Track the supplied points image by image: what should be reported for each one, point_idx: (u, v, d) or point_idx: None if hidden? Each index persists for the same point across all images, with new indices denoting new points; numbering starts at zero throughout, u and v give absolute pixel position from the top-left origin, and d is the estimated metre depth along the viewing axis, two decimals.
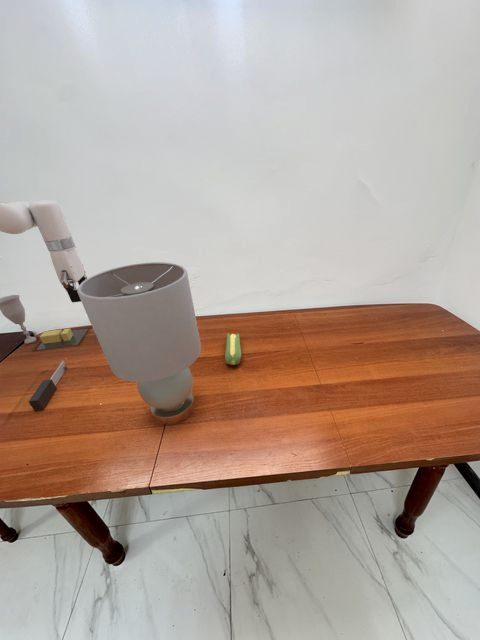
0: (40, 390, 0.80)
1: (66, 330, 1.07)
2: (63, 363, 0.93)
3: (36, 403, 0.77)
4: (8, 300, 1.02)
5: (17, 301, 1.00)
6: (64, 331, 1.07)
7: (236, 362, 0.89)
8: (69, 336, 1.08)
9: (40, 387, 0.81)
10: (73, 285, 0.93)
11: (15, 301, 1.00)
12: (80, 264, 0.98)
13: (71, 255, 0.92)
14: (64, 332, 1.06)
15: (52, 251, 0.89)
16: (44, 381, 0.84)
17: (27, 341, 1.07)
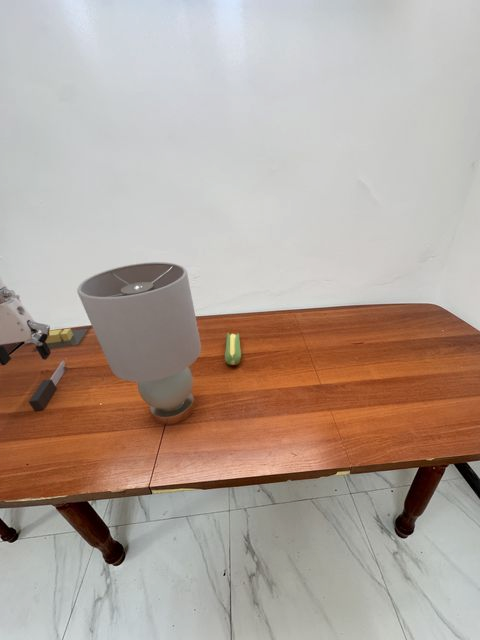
0: (40, 390, 0.80)
1: (66, 330, 1.07)
2: (63, 363, 0.93)
3: (36, 403, 0.77)
4: None
5: None
6: (64, 331, 1.07)
7: (236, 362, 0.89)
8: (69, 336, 1.08)
9: (40, 387, 0.81)
10: None
11: None
12: (13, 328, 0.69)
13: None
14: (64, 332, 1.06)
15: None
16: (44, 381, 0.84)
17: (27, 341, 1.07)
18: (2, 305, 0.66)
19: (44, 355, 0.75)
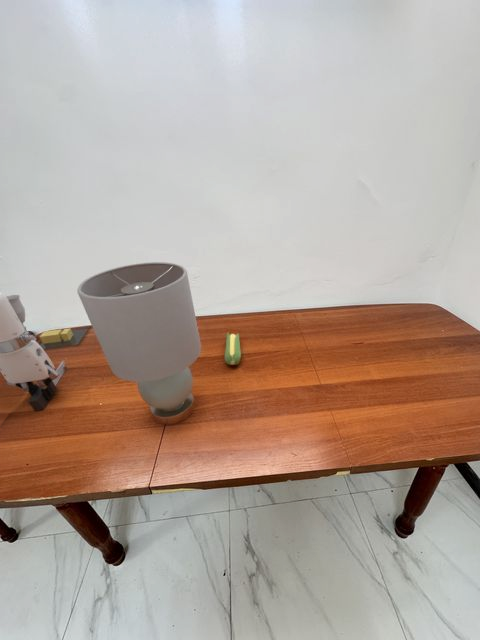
0: (40, 390, 0.80)
1: (66, 330, 1.07)
2: (63, 363, 0.93)
3: (36, 403, 0.77)
4: (8, 300, 1.02)
5: (17, 301, 1.00)
6: (64, 331, 1.07)
7: (235, 362, 0.89)
8: (69, 336, 1.08)
9: (40, 387, 0.81)
10: None
11: (15, 301, 1.00)
12: (32, 369, 0.74)
13: (5, 359, 0.72)
14: (64, 332, 1.06)
15: None
16: None
17: None
18: (22, 349, 0.71)
19: (48, 396, 0.81)
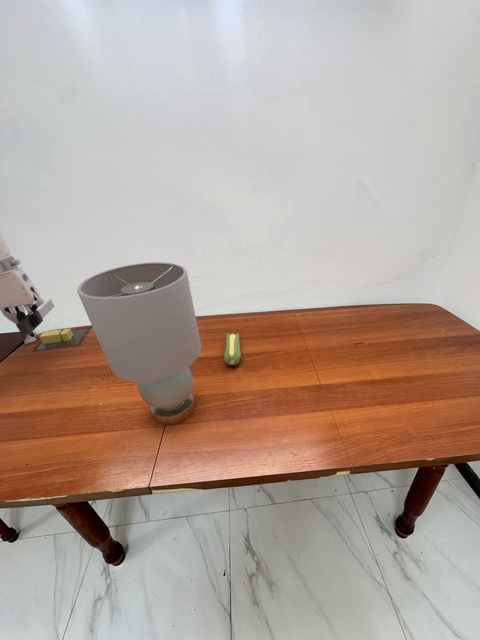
0: (27, 317, 0.88)
1: (66, 330, 1.07)
2: (50, 301, 1.01)
3: (23, 327, 0.85)
4: None
5: None
6: (64, 331, 1.07)
7: (235, 362, 0.89)
8: (69, 336, 1.08)
9: (27, 315, 0.89)
10: None
11: None
12: (18, 293, 0.82)
13: None
14: (64, 332, 1.06)
15: None
16: None
17: (27, 341, 1.07)
18: (9, 272, 0.79)
19: (34, 323, 0.89)
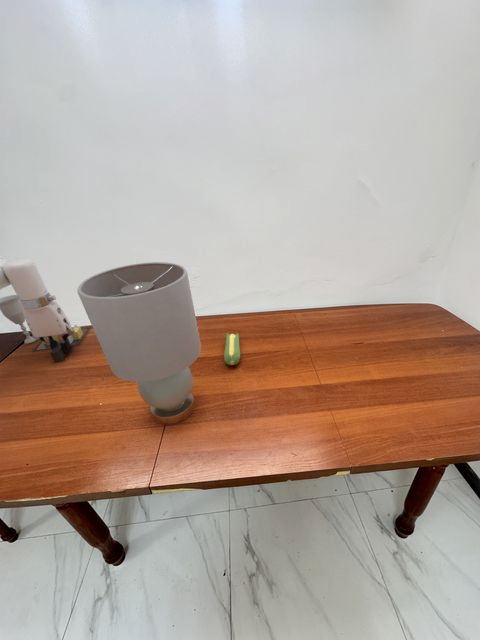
0: (59, 345, 0.97)
1: (76, 329, 1.08)
2: None
3: (56, 354, 0.94)
4: (8, 300, 1.02)
5: (17, 301, 1.00)
6: None
7: (235, 362, 0.89)
8: (79, 335, 1.08)
9: (58, 343, 0.98)
10: None
11: (15, 301, 1.00)
12: (53, 324, 0.91)
13: (32, 315, 0.89)
14: None
15: None
16: None
17: (27, 341, 1.07)
18: (46, 307, 0.88)
19: (65, 350, 0.98)
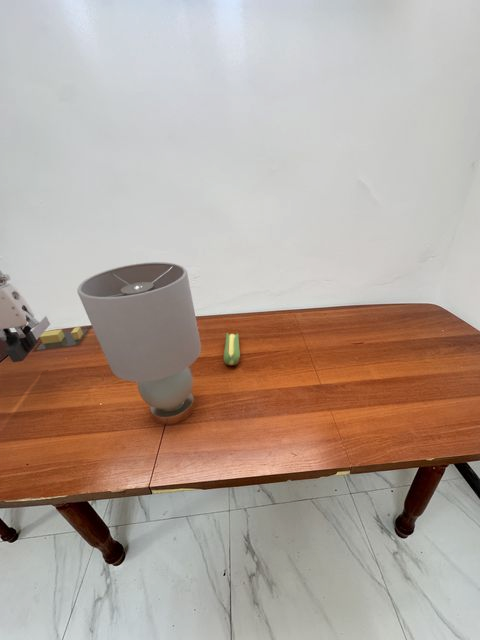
0: (19, 340, 0.75)
1: (76, 329, 1.08)
2: (45, 319, 0.88)
3: (14, 353, 0.72)
4: None
5: None
6: (74, 330, 1.07)
7: (234, 362, 0.89)
8: (79, 335, 1.08)
9: (19, 338, 0.76)
10: None
11: None
12: (8, 313, 0.69)
13: None
14: (74, 331, 1.07)
15: None
16: None
17: None
18: None
19: (27, 347, 0.76)
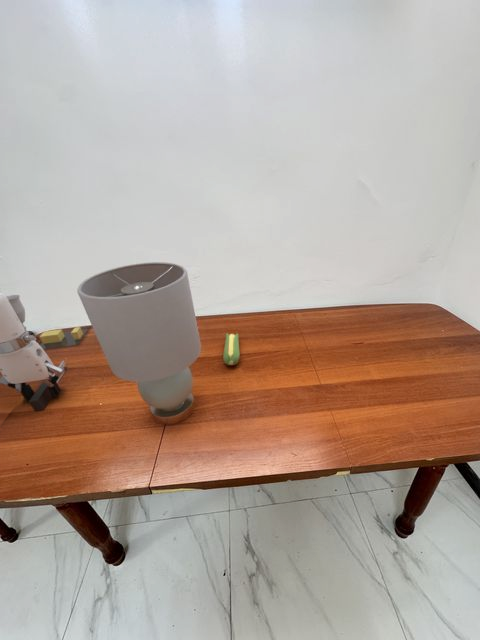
0: (40, 390, 0.80)
1: (76, 329, 1.08)
2: (63, 363, 0.93)
3: (36, 403, 0.77)
4: (8, 300, 1.02)
5: (17, 301, 1.00)
6: (74, 330, 1.07)
7: (234, 362, 0.89)
8: (79, 335, 1.08)
9: (40, 387, 0.81)
10: (16, 386, 0.77)
11: (15, 301, 1.00)
12: (32, 369, 0.74)
13: (5, 359, 0.72)
14: (74, 331, 1.07)
15: None
16: None
17: None
18: (22, 349, 0.72)
19: (55, 395, 0.81)
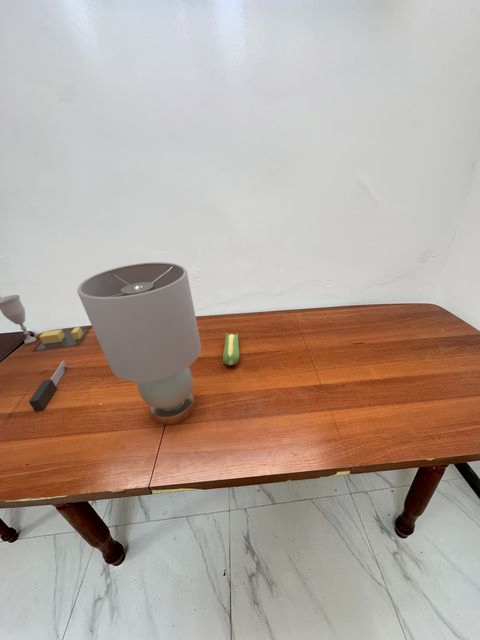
0: (40, 390, 0.80)
1: (76, 329, 1.08)
2: (63, 363, 0.93)
3: (36, 403, 0.77)
4: (8, 300, 1.02)
5: (17, 301, 1.00)
6: (74, 330, 1.07)
7: (234, 362, 0.89)
8: (79, 335, 1.08)
9: (40, 387, 0.81)
10: None
11: (15, 301, 1.00)
12: None
13: None
14: (74, 331, 1.07)
15: None
16: (44, 381, 0.84)
17: (27, 341, 1.07)
18: None
19: None
